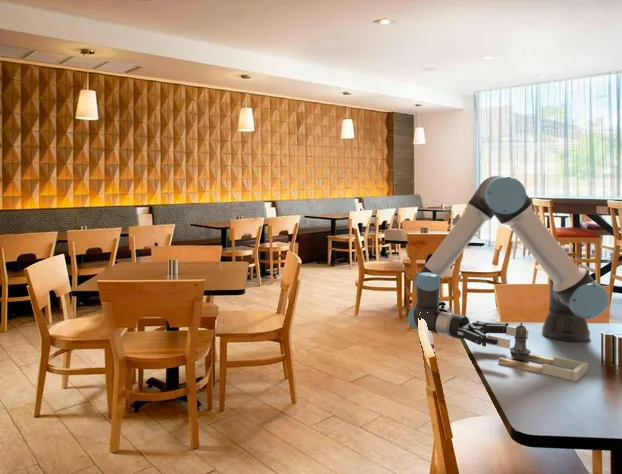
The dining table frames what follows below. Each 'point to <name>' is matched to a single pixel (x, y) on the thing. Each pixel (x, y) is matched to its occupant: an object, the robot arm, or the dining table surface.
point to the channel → (526, 365)
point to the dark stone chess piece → (520, 345)
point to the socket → (573, 374)
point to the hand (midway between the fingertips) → (519, 338)
